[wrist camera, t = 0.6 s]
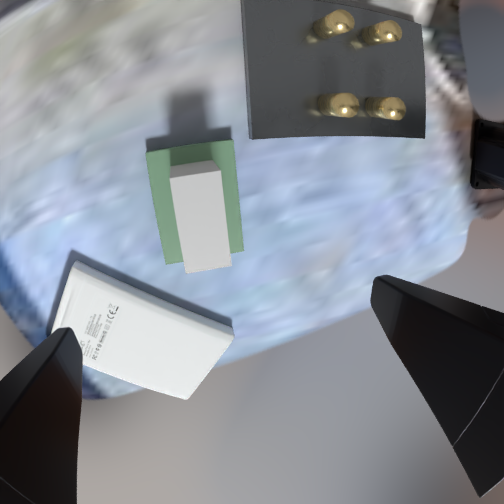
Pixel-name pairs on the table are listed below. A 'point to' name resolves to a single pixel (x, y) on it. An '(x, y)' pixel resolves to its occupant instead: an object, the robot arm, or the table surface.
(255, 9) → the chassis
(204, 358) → the external hard drive
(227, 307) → the table surface
